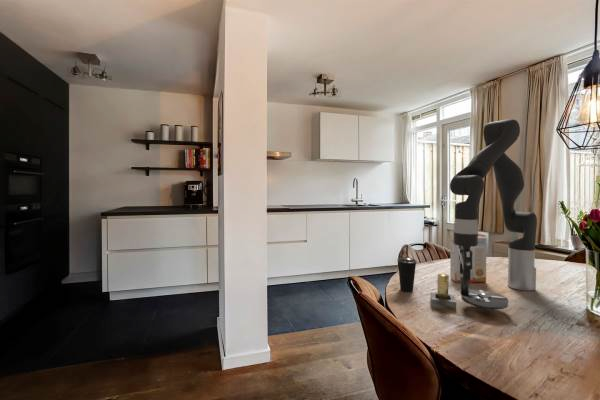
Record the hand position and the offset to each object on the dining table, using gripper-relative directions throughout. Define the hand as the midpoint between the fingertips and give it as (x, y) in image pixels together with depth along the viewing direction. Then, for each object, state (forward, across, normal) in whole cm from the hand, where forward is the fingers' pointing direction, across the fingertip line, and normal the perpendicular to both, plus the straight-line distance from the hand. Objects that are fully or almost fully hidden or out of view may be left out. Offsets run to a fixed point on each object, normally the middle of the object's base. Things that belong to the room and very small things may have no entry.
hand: (464, 276), depth 106 cm
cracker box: (+12, +39, -6) cm, 41 cm away
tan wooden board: (+12, 0, -1) cm, 12 cm away
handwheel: (+8, 0, -6) cm, 10 cm away
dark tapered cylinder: (+12, +12, +20) cm, 26 cm away
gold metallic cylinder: (+11, 0, +7) cm, 13 cm away
